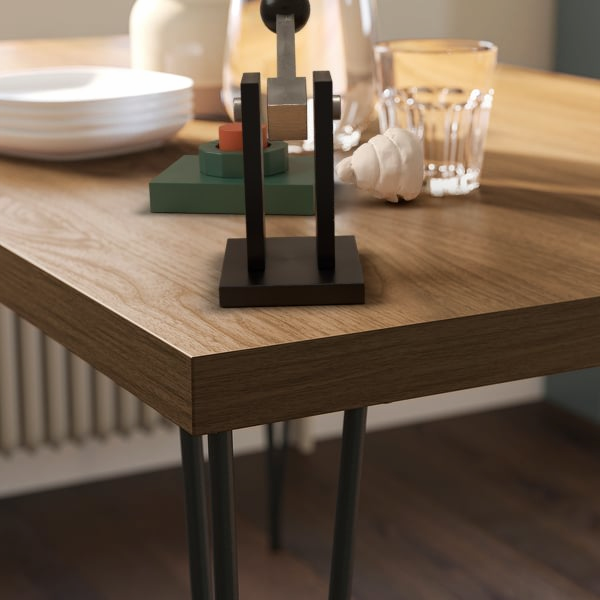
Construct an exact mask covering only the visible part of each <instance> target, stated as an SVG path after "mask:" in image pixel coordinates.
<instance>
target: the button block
mask: <svg viewBox="0 0 600 600" xmlns="http://www.w3.org/2000/svg"><path fill="white" fill-rule="evenodd" d="M267 146H268V148H264V149H263V166H264V196H265V215H285V216H287V215H291V216H293V215H294V216H297V215H298V216H315V172H314V155H313V156H312V155H289V143H288V142H287V141H269V140H268V137H267ZM148 193H149V194H148V195H149V208H150V210H149V211H150V213H178V214H179V213H180V214H230V215H231V214H232V215H233V214H235V215H236V214H237V215H240V214H241V215H245V193H244V168H243V151H227V150H221V149H219V139H215V140H210V141H206V142H203V143H202V144H201V145H199V146H198V155H197V154H183V155H182V156H181V157H179V158H178V159H176V160H175V161H174V162H173V163H172V164H171V165H169V166H168V167H166V168H165V170H163V171H162V172H161V173H159V174H158V175H157V176H155V177H154V178H153V179H152V180H150V181H149V182H148Z"/></svg>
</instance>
